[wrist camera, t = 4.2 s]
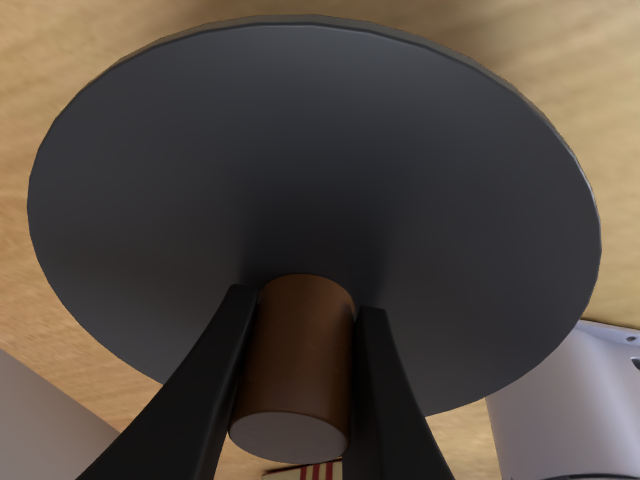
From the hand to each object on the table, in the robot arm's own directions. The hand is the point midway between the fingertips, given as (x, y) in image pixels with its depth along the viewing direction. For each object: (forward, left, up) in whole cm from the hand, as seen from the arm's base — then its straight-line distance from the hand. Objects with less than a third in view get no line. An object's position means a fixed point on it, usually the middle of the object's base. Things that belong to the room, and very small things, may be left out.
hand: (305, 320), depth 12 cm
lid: (0, 0, -1) cm, 1 cm away
